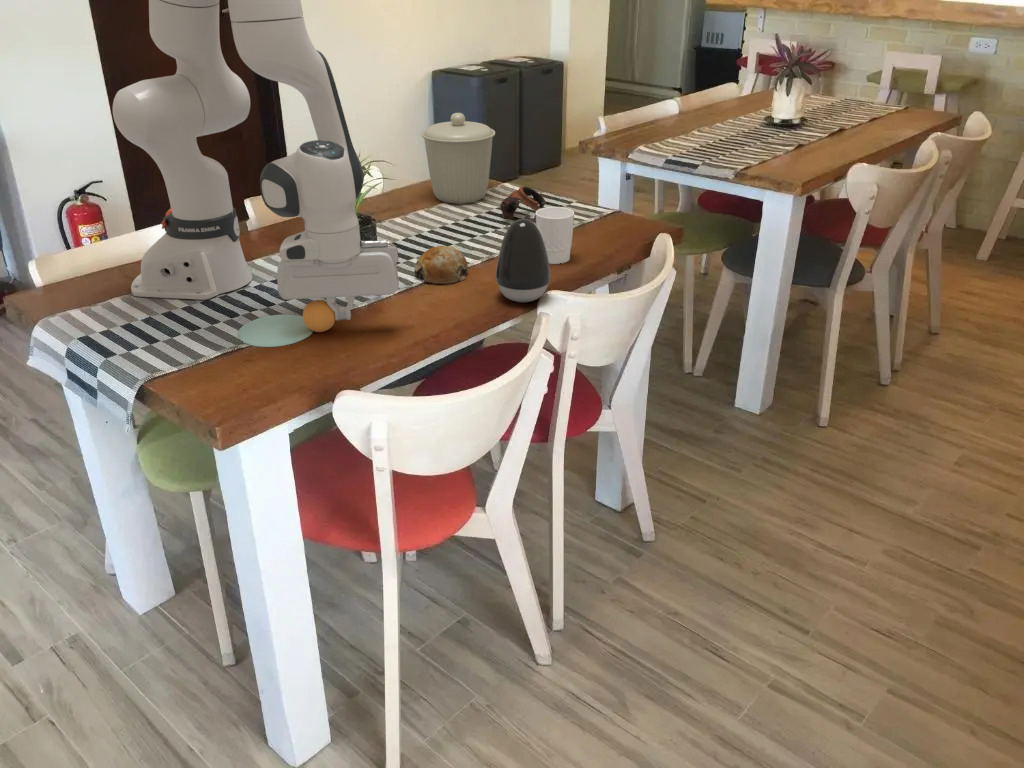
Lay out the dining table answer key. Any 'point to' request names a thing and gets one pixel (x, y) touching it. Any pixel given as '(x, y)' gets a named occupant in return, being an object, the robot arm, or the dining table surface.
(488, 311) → the dining table surface
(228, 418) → the dining table surface
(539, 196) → the brown curved piece
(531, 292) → the dark grey egg shape
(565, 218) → the white cup
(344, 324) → the dining table surface
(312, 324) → the ball
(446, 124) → the canister
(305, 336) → the teal disc
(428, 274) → the bread roll
